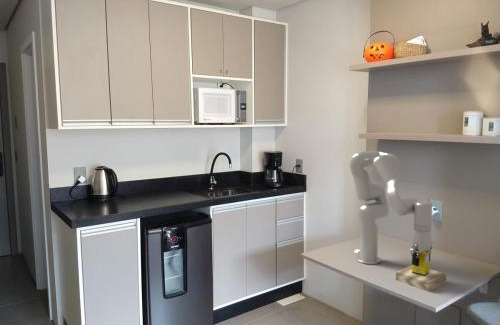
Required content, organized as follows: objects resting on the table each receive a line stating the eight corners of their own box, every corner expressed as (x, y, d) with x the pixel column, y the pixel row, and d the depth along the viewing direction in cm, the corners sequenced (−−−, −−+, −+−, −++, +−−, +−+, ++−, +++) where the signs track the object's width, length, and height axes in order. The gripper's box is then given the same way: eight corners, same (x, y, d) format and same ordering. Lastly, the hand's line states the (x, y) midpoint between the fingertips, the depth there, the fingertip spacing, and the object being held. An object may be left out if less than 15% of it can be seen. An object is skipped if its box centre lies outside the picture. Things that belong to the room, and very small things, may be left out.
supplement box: (416, 269, 185) (416, 247, 183) (429, 272, 181) (429, 250, 179) (411, 273, 180) (412, 250, 179) (424, 276, 176) (425, 253, 175)
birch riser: (395, 279, 183) (396, 271, 182) (414, 271, 192) (414, 264, 192) (427, 291, 170) (428, 282, 169) (446, 282, 179) (446, 274, 179)
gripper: (424, 223, 186) (423, 256, 188) (404, 229, 176) (403, 264, 178) (439, 226, 180) (438, 261, 182) (419, 232, 170) (418, 269, 172)
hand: (421, 262), depth 180 cm, fingers open, 9 cm apart
